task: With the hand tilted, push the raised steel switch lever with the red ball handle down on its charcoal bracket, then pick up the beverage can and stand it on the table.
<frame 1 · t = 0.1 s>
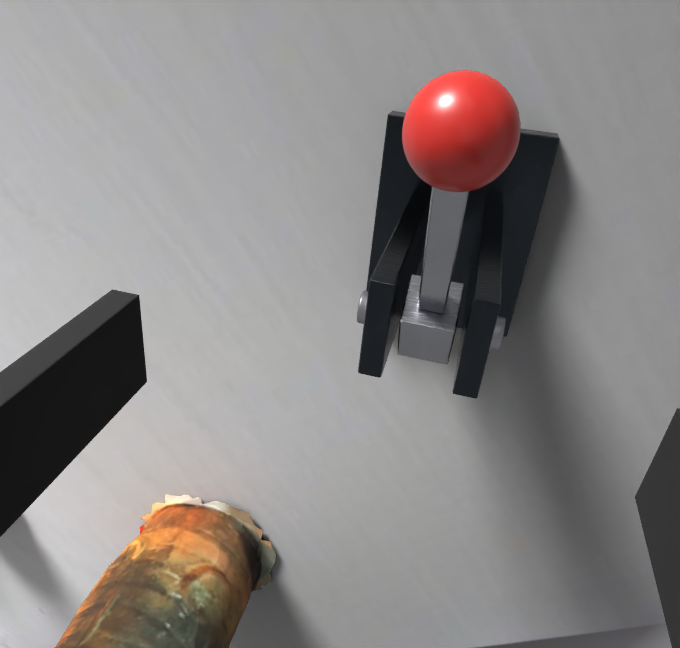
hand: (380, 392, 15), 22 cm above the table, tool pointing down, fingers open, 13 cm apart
lever: (442, 244, 21), point 15 cm above the table, hinge at 30.0°
bracket: (452, 226, 35), on the table
vessel: (204, 539, 55), on the table
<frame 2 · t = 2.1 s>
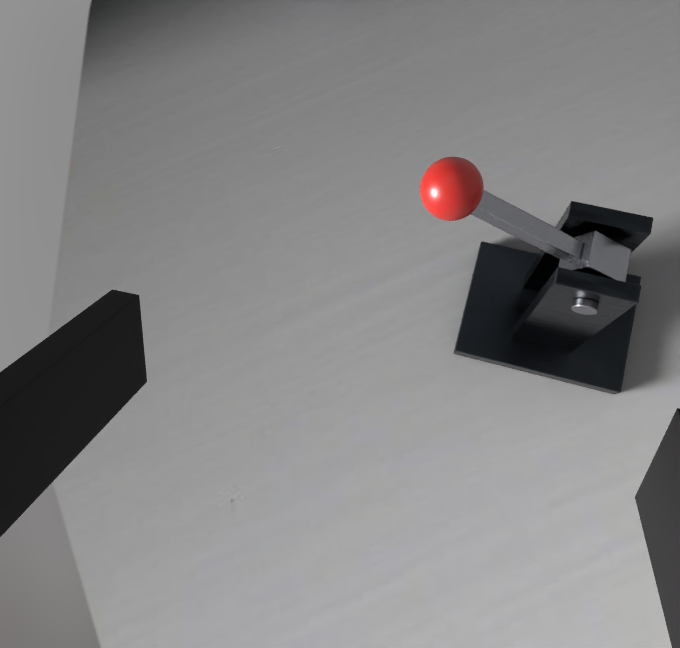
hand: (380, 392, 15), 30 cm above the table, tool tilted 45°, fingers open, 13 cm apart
lever: (524, 226, 32), point 15 cm above the table, hinge at 30.0°
bracket: (544, 317, 45), on the table
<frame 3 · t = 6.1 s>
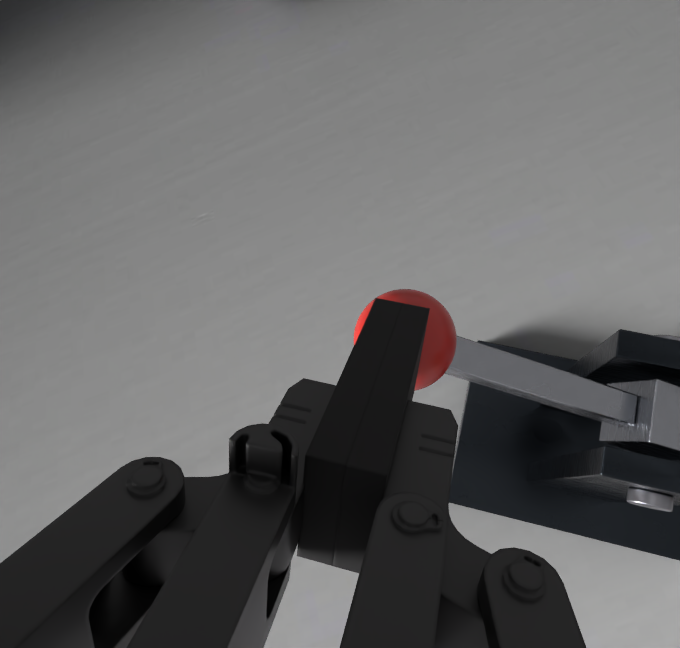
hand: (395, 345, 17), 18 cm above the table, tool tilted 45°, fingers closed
lever: (536, 382, 20), point 14 cm above the table, hinge at 24.3°, touching gripper
bracket: (570, 445, 32), on the table
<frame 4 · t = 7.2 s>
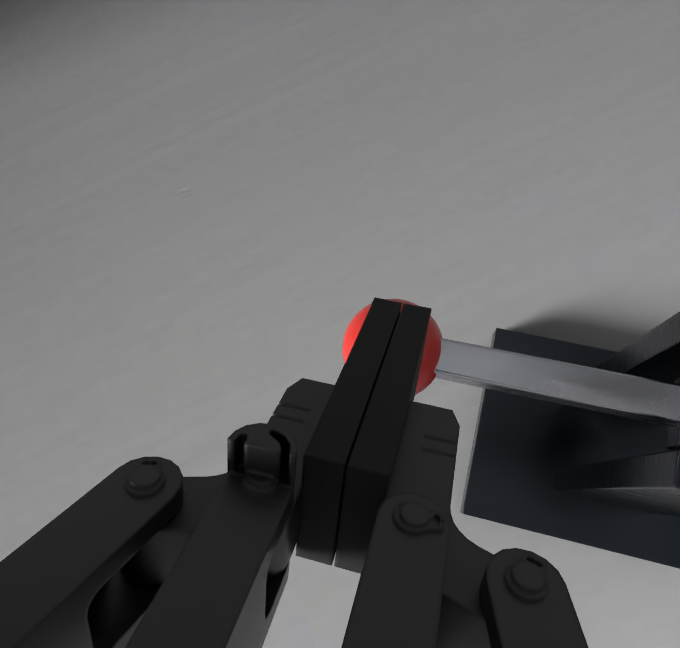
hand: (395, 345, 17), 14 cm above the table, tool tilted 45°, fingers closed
lever: (551, 381, 18), point 12 cm above the table, hinge at -2.5°, touching gripper
bracket: (603, 448, 28), on the table
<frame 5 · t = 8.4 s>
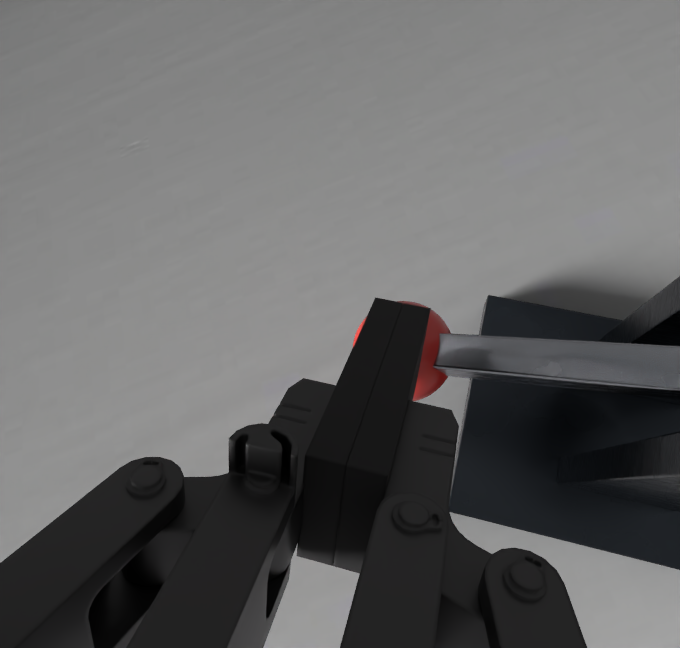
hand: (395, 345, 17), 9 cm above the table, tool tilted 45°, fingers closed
lever: (559, 363, 16), point 9 cm above the table, hinge at -29.8°
bracket: (613, 434, 24), on the table
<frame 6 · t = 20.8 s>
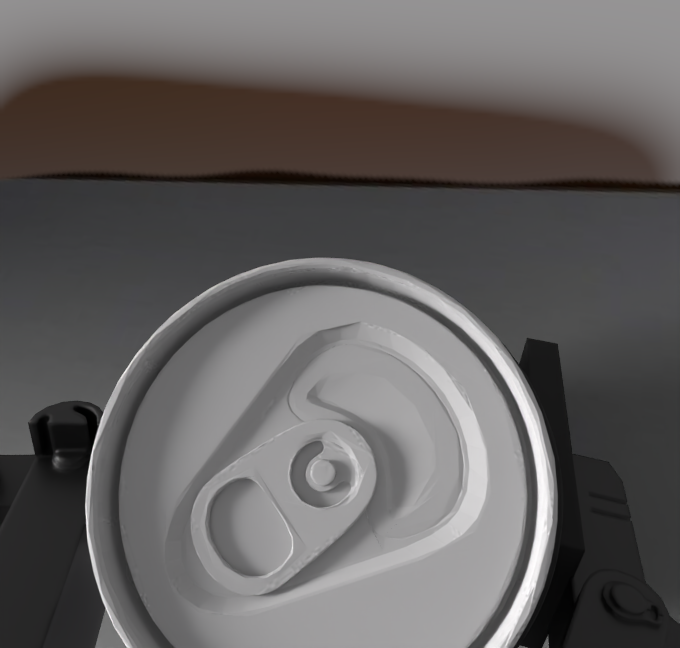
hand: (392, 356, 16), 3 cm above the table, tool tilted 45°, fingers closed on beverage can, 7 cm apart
beverage can: (370, 489, 19), on the table, touching gripper
when the fingers open (3 cm above the table, at t = 27.3 s): beverage can stays where it is, on the table.
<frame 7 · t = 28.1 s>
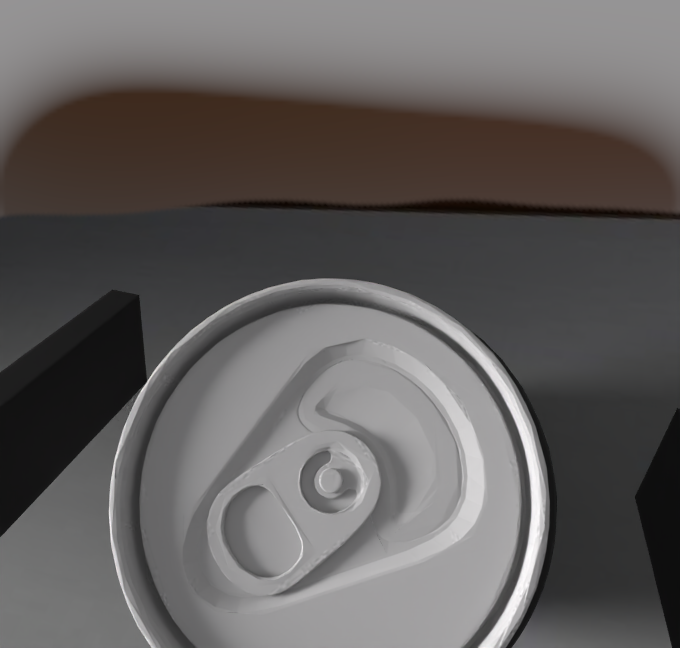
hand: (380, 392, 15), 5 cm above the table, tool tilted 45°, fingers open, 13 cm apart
beverage can: (374, 492, 19), on the table
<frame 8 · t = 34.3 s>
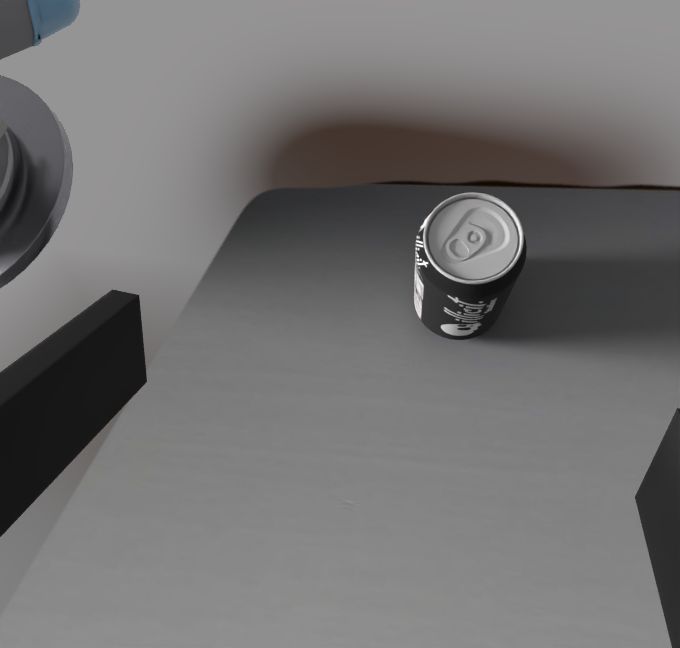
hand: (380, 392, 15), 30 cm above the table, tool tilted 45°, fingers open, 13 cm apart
beverage can: (456, 302, 46), on the table
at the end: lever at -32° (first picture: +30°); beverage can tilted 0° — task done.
